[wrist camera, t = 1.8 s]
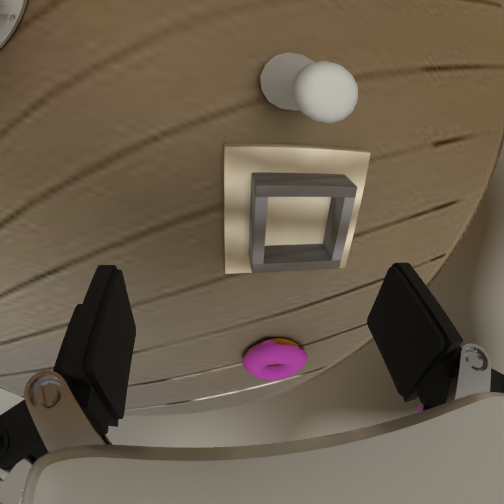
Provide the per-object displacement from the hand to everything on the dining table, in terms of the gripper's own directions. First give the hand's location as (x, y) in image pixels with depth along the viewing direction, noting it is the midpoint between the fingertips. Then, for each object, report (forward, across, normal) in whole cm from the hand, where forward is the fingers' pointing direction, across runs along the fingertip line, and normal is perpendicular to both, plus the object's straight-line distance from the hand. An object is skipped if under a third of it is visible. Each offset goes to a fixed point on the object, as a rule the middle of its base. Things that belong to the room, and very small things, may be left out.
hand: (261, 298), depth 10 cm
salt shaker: (+24, -5, -6) cm, 26 cm away
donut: (+25, -9, +36) cm, 45 cm away
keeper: (+24, -8, +9) cm, 27 cm away
